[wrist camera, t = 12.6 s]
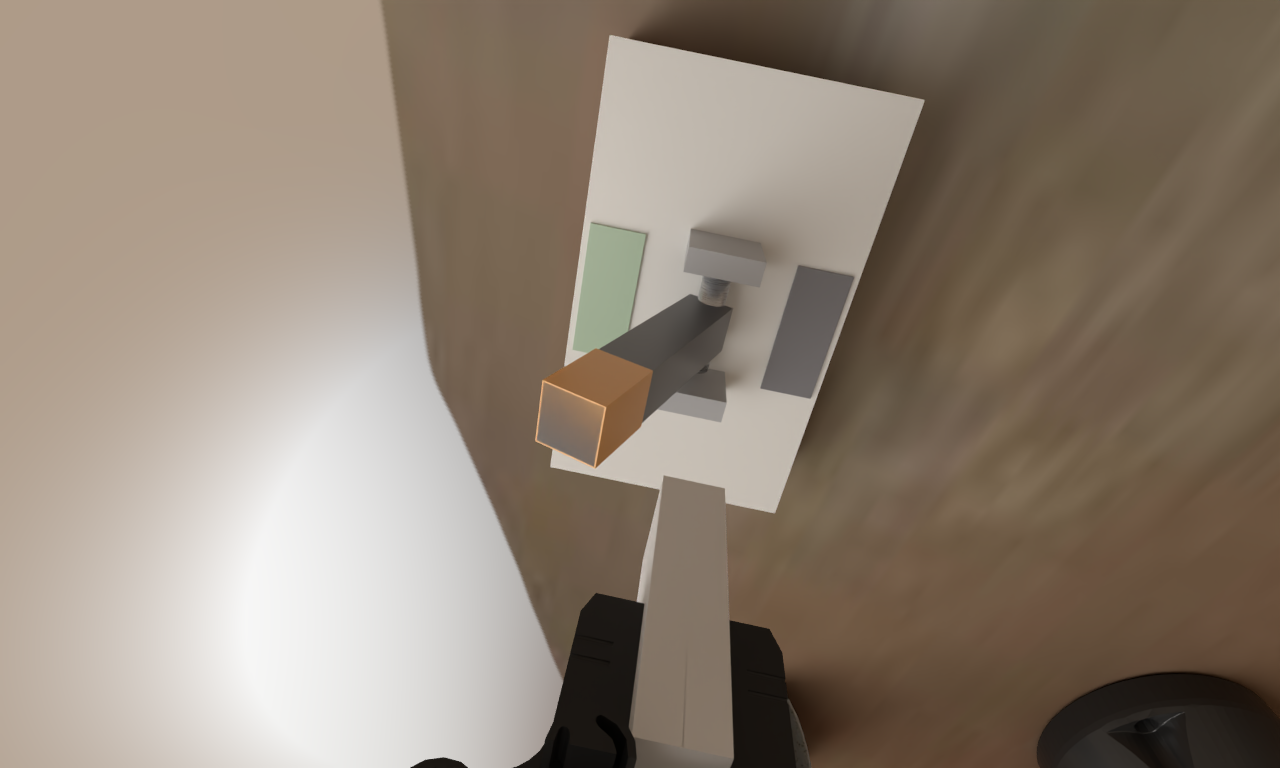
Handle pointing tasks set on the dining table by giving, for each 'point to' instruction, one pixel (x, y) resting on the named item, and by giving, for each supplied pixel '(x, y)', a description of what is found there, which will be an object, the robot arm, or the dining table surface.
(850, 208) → the switch box
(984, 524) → the dining table surface
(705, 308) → the switch lever
